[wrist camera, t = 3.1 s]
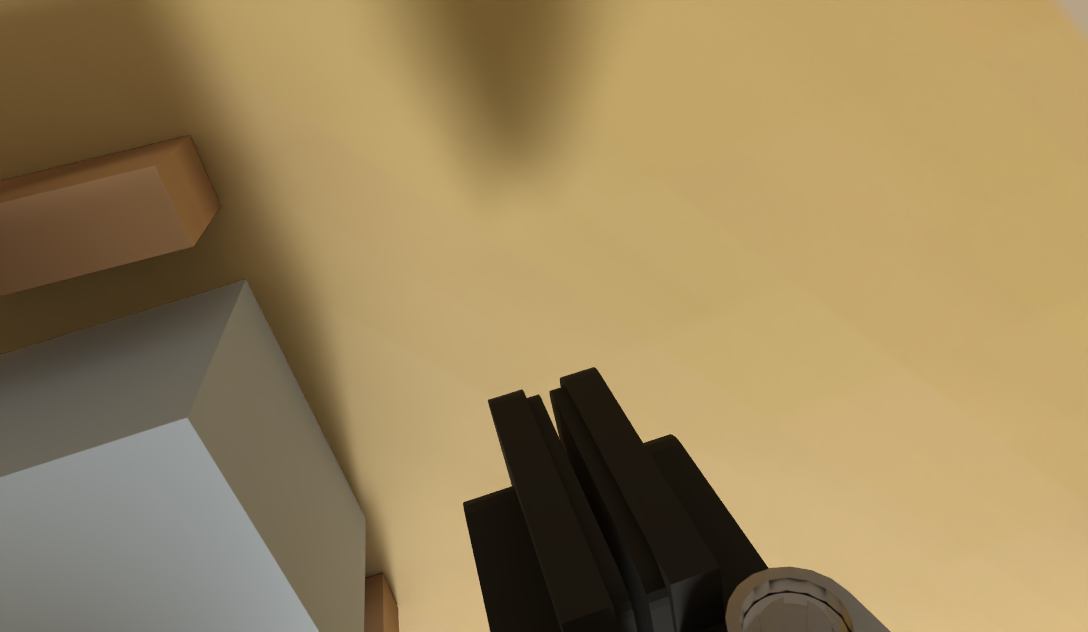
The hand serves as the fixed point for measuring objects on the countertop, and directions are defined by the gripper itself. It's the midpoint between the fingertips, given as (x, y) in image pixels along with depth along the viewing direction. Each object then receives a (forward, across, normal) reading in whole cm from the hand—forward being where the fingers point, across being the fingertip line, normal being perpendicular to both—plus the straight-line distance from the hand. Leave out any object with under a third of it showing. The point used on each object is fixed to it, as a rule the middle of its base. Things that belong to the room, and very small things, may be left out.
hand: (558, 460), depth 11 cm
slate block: (+4, +7, 0) cm, 8 cm away
